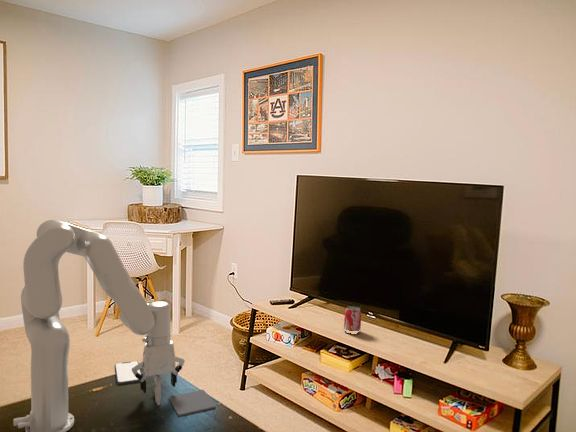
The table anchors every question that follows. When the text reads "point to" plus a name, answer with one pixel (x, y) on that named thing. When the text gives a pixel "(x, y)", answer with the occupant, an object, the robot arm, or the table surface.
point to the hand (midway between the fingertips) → (158, 388)
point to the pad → (191, 402)
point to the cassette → (157, 389)
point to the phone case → (126, 373)
